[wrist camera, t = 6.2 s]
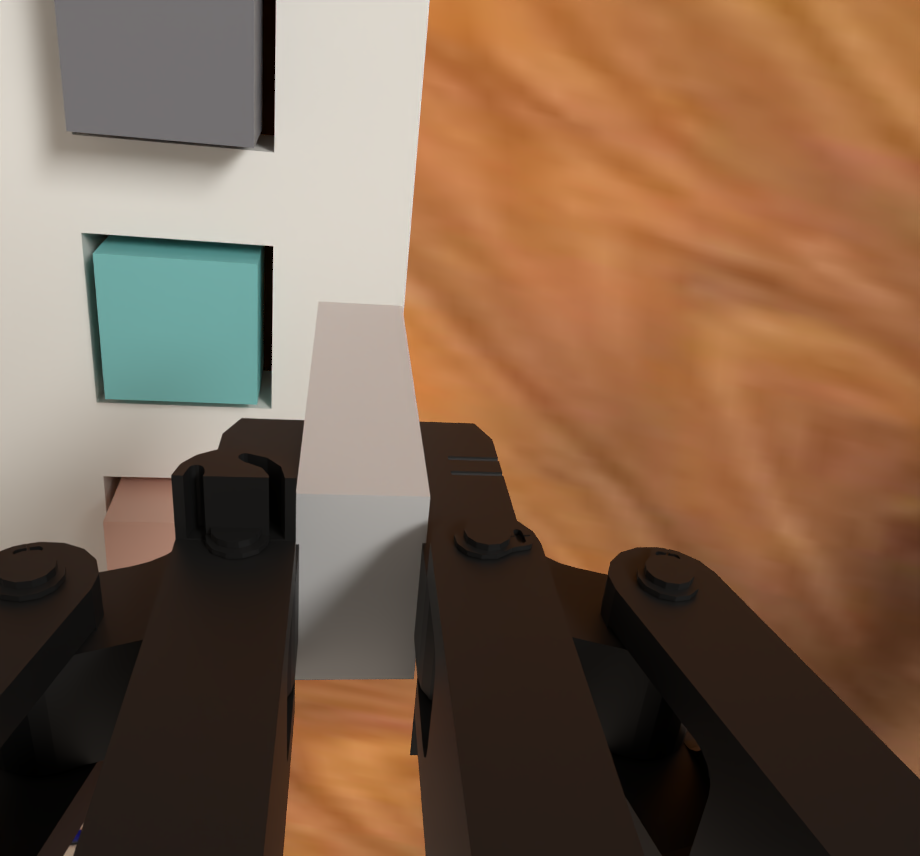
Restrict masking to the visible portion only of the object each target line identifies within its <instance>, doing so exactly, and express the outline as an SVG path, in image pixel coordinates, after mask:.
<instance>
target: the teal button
mask: <svg viewBox="0 0 920 856" xmlns="http://www.w3.org/2000/svg"><path fill="white" fill-rule="evenodd" d="M93 264H94V275H95V287H96V299H97V310H98V322H99V334H100V345H101V357H102V369H103V380H104V392H105V399H118V400H144V401H171V402H198V403H224V404H251V405H257V403H258V397H259V391H260V385H261V379H262V373H263V367H264V273H265V245H251V244H236V243H222V242H208V241H193V240H179V239H165V238H150V237H136V236H122V235H109V236H108V237H107V238H106V239H105V240H104V241H103V242H102V244H101V245H100V246H99V247H98V248H97V249H96V250H95V251H94V253H93Z"/></svg>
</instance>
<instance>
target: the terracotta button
mask: <svg viewBox="0 0 920 856" xmlns="http://www.w3.org/2000/svg"><path fill="white" fill-rule="evenodd" d="M103 528H104V538H105V549H106V560H107V570H114V569H119V568H125V567H130V566H134V565H138V564H142V563H146V562H150V561H152V560H155V559H157V558H160V557H162V556H164V555H167V554H168V553H170V552H171V551H172V548H173V545H174V542H175V525H174V510H173V496H172V482H171V478H156V477H122V478H121V480H120V482H119V485H118V487H117V490H116V492H115V494H114V497H113V499H112V502H111V504H110V506H109V509H108V511H107V513H106V516H105V518H104V521H103Z"/></svg>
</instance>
